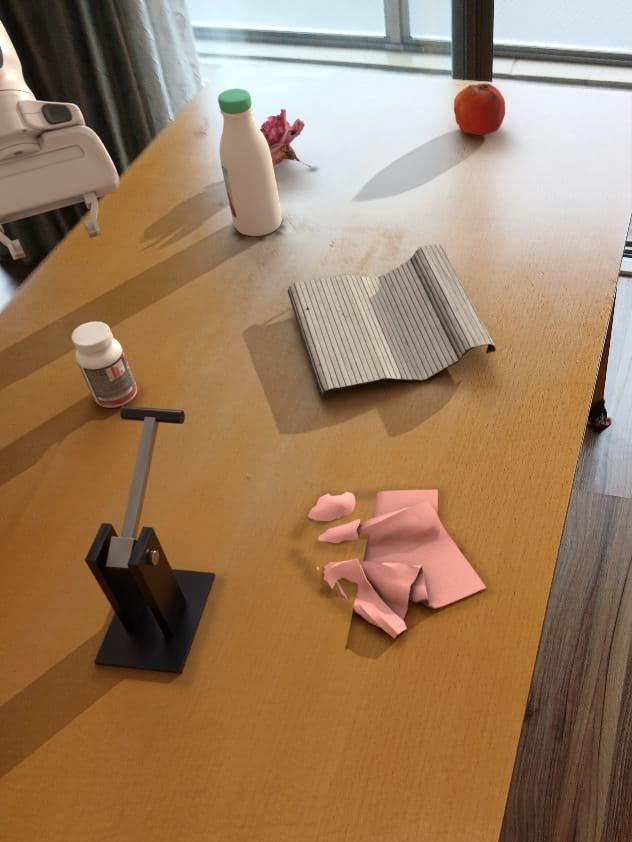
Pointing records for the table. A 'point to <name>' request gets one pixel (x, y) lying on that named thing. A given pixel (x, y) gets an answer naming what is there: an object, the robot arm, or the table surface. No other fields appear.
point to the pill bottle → (103, 365)
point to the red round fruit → (479, 109)
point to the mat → (387, 323)
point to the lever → (138, 480)
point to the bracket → (148, 605)
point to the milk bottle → (247, 167)
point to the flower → (281, 137)
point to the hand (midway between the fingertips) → (57, 246)
